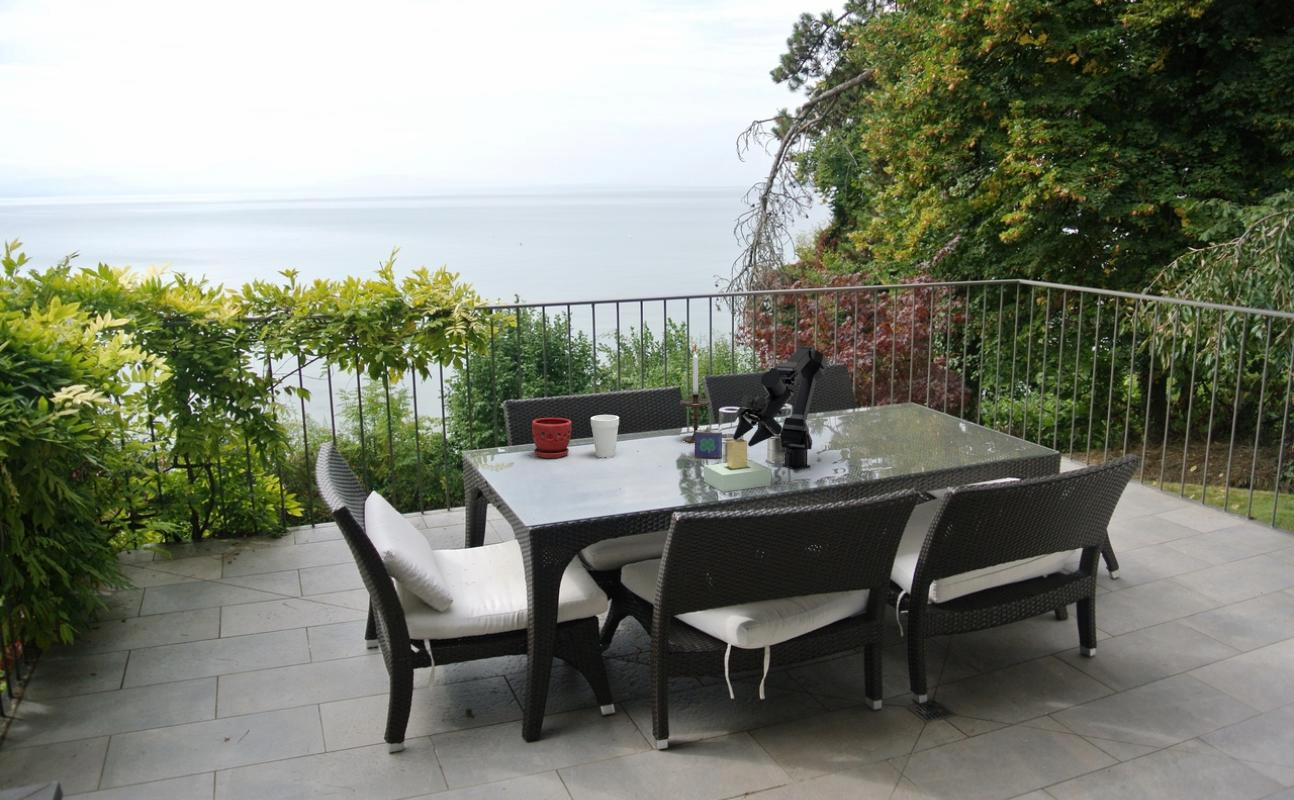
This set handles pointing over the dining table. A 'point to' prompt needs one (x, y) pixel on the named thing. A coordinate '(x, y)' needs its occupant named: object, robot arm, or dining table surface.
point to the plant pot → (551, 437)
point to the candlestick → (694, 400)
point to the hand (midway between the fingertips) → (741, 442)
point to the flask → (708, 444)
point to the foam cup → (605, 434)
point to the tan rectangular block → (736, 454)
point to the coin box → (737, 476)
